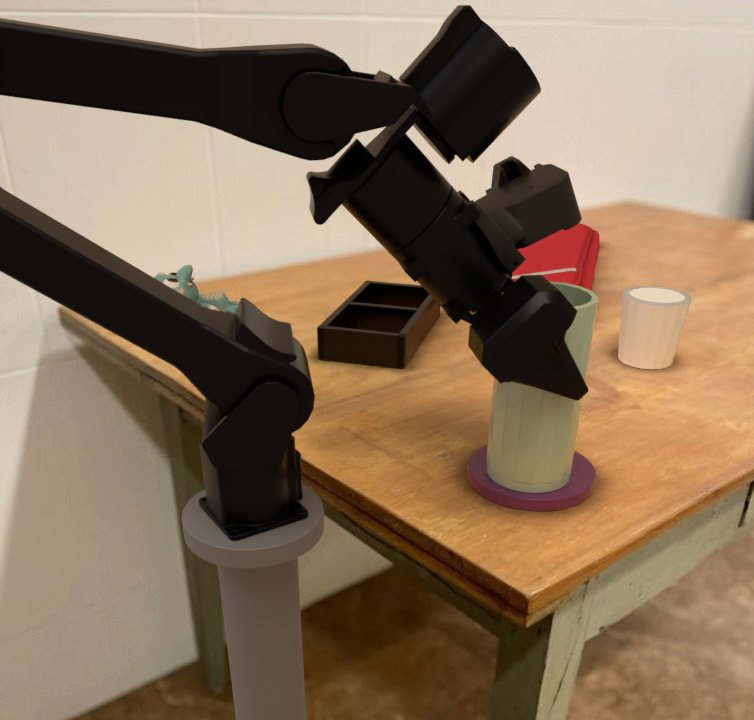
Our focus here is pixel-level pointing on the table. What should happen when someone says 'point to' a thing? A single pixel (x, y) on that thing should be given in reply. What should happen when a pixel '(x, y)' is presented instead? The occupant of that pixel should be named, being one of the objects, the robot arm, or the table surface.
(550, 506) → the lid
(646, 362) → the white cup
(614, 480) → the table surface
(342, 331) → the compartment tray
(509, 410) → the tumbler
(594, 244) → the dish drying mat
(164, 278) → the stuffed animal
